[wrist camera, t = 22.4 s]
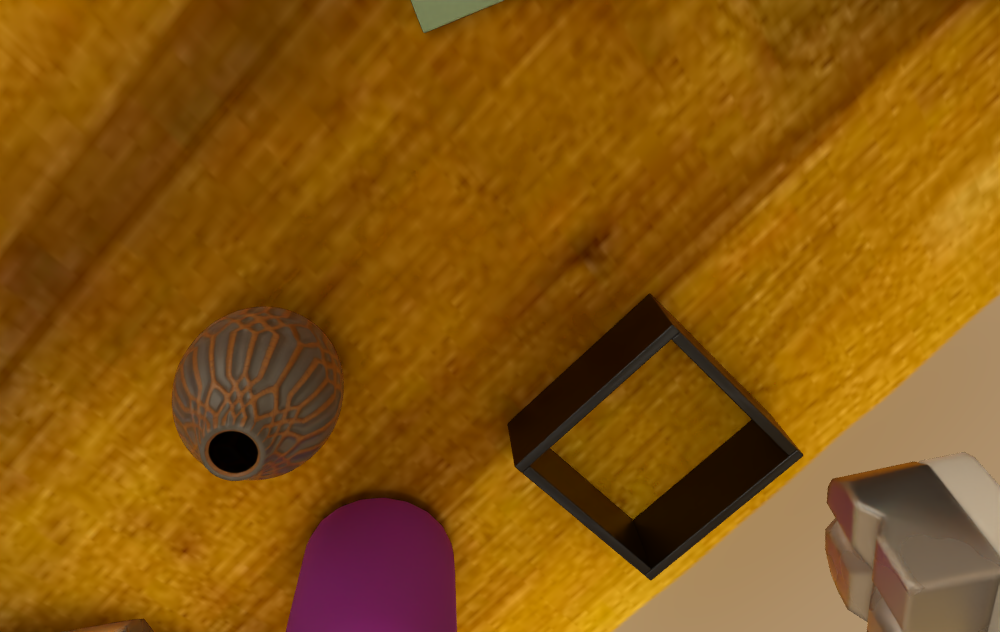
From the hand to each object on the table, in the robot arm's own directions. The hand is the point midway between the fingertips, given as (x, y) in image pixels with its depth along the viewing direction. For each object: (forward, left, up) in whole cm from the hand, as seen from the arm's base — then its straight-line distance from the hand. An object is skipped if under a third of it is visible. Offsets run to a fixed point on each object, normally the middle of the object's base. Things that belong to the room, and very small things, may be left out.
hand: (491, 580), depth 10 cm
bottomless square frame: (+4, -15, -27) cm, 32 cm away
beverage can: (-11, -17, -28) cm, 34 cm away
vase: (-11, -5, -28) cm, 30 cm away
